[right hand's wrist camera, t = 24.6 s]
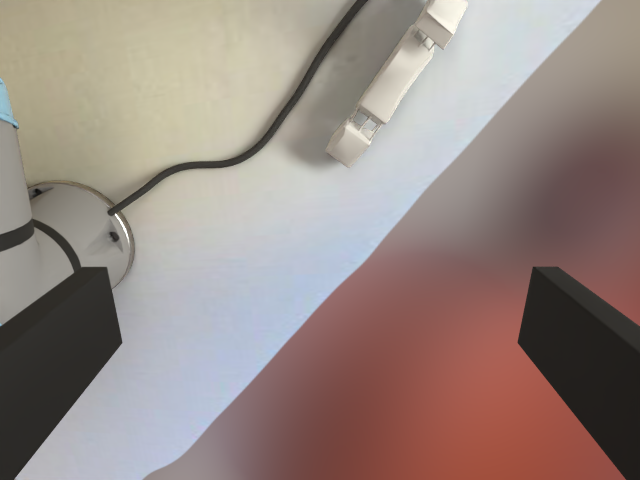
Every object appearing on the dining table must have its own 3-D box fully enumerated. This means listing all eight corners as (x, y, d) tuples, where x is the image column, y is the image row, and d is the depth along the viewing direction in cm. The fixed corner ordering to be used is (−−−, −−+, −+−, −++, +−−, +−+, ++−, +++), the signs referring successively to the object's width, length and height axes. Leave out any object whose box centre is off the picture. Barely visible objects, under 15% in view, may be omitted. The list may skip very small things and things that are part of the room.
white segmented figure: (438, -20, 40) (455, -34, 34) (466, 5, 41) (487, -5, 35) (324, 143, 48) (321, 156, 41) (349, 161, 48) (350, 177, 42)
